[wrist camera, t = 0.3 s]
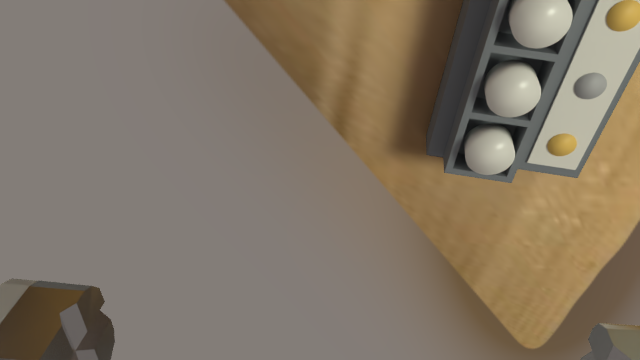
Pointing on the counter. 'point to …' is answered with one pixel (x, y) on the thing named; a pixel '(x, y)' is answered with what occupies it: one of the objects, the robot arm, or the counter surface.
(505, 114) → the middle button
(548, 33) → the button
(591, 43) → the pattern board
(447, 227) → the counter surface
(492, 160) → the button
